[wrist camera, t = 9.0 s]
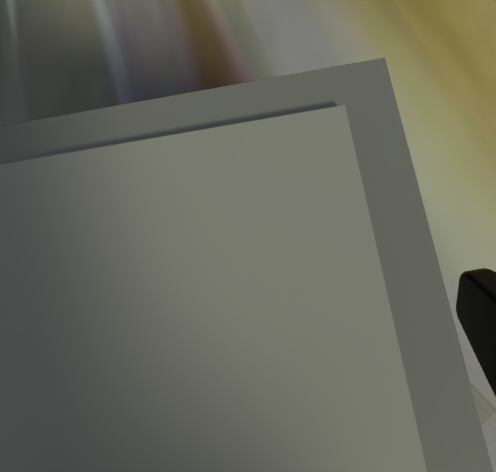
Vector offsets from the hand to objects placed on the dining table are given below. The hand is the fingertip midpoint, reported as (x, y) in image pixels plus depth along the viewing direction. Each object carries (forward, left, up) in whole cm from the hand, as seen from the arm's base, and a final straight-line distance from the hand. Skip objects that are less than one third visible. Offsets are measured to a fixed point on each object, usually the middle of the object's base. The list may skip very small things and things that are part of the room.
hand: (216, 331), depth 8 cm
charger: (-1, 0, -8) cm, 8 cm away
